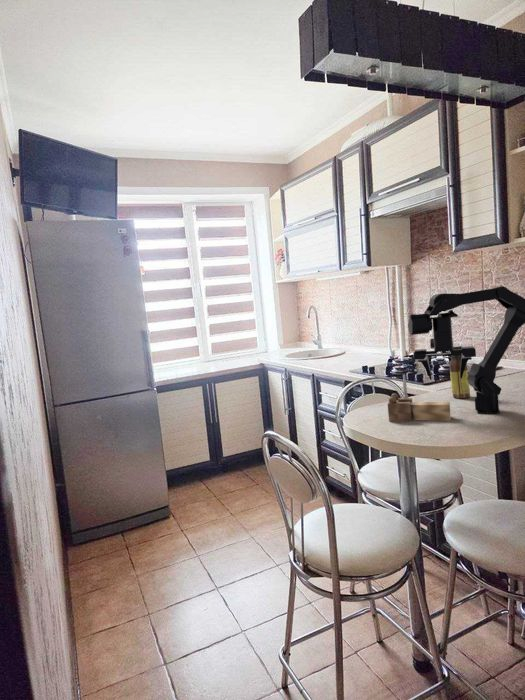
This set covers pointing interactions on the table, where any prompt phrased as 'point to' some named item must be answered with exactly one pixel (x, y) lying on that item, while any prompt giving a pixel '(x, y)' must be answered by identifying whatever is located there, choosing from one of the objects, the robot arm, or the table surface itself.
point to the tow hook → (404, 387)
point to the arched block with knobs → (399, 408)
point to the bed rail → (430, 410)
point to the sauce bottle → (458, 377)
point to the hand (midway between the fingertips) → (445, 378)
